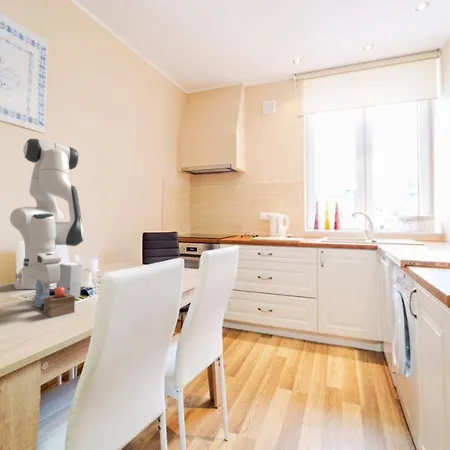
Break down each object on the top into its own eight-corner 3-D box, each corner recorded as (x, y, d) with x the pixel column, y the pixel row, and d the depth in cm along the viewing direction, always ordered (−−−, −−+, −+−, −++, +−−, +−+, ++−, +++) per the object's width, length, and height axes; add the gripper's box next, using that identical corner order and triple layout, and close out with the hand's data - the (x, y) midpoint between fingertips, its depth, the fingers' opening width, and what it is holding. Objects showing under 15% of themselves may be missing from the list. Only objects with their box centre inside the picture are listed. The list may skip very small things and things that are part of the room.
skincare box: (55, 297, 127) (55, 263, 126) (67, 294, 132) (68, 261, 132) (70, 300, 124) (70, 265, 123) (81, 296, 129) (82, 263, 129)
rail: (34, 305, 116) (34, 300, 116) (40, 304, 117) (40, 299, 117) (48, 312, 108) (48, 307, 108) (54, 311, 109) (54, 306, 109)
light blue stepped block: (34, 305, 113) (34, 283, 113) (45, 303, 117) (45, 281, 116) (39, 308, 110) (39, 285, 110) (51, 305, 114) (51, 283, 113)
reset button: (53, 296, 107) (53, 287, 107) (62, 294, 110) (62, 286, 110) (57, 297, 106) (57, 289, 106) (65, 295, 108) (65, 287, 108)
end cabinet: (44, 313, 107) (44, 297, 106) (67, 308, 113) (67, 293, 113) (51, 317, 103) (51, 300, 103) (74, 312, 109) (74, 296, 109)
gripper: (23, 253, 117) (23, 288, 117) (44, 259, 104) (44, 298, 105) (40, 252, 122) (40, 285, 122) (63, 257, 109) (63, 294, 110)
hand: (42, 291), depth 113 cm, fingers closed on light blue stepped block, 2 cm apart
